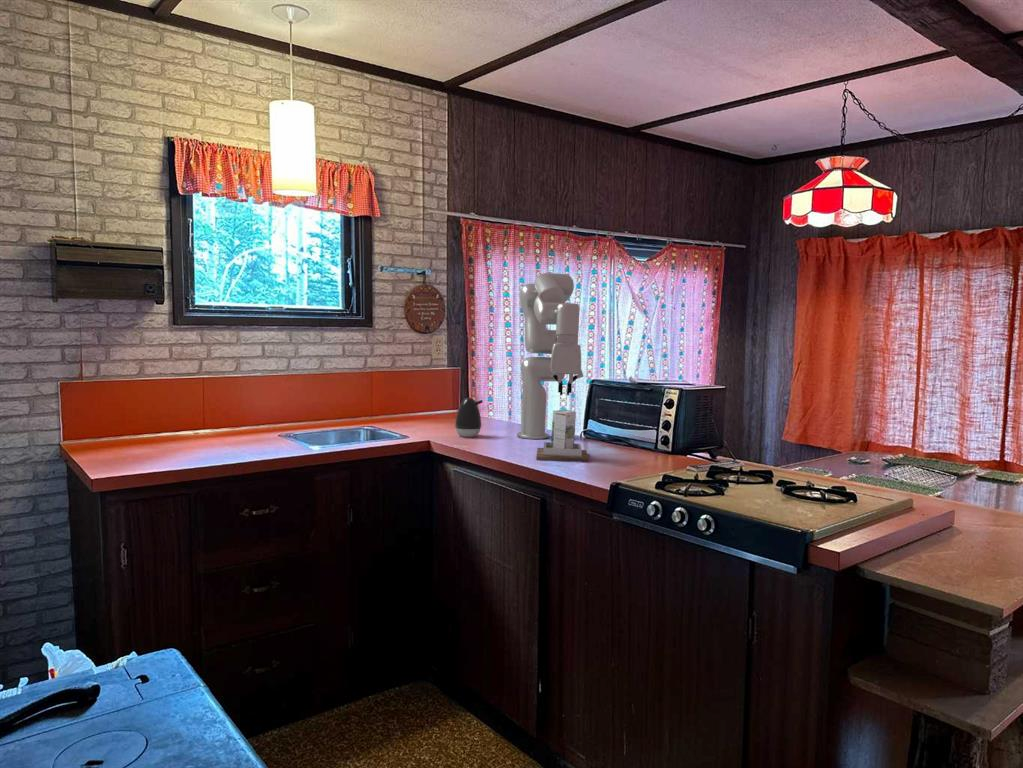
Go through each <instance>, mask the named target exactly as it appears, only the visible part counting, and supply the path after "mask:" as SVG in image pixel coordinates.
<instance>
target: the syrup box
mask: <svg viewBox="0 0 1023 768" xmlns="http://www.w3.org/2000/svg"><path fill="white" fill-rule="evenodd" d="M576 414H577V412H576V411H574V410H571V409H558V410H552V419H551V422H552V423H551V439H550V442H551V448H564V449H574V443H575V435H576V434H575V433H576V418H577V417H576V416H577V415H576Z"/></svg>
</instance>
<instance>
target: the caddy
mask: <svg viewBox="0 0 1023 768" xmlns="http://www.w3.org/2000/svg"><path fill="white" fill-rule="evenodd" d="M535 457H536V459H535V460H536V461H548V460H555V461H554V462H570V461H582V462H581V463H589V455H588V452H587V449H582V445H581V443H576V442H574V449H564V448H551V441H549V442H548V441H544V442H543V447H537V450H536V456H535Z"/></svg>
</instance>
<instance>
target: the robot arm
mask: <svg viewBox="0 0 1023 768" xmlns="http://www.w3.org/2000/svg"><path fill="white" fill-rule="evenodd" d="M574 286H575V284H574V280H573V278H572V277H571V275H570V274H567V273H555V272H545V273H540V274H538V276H537V277H536V278H535V279H534V283H526V284H524V285H523V286H521V288H520V291H519V303H520V306H521V307H520V308H521V309H522V313H523V317H524V347H525V351H527V352H528V353H530V354H540V355H541V354H542V355H551V357H548V356H529V357H526V358H524V359H523V360H522V361H521V364H520V370H521V381H522V382H521V383H522V384H521V385H522V389H521V390H522V393H521V397H522V399H521V400H522V401H521V422H520V423H521V424H520V425H521V426H520V432H519V431H518V432H517V433H516V436H517V437H518V438H522V439H529V440H545V439H548V438H549V437H550V435H549V434H548V433H546V422H547V421H546V420H547V418H546V417H547V416H546V415H547V390H546V389H545V387H544V386H543V384H542V382H557V384H558V387H557V388H558V389H557V393H559V394H560V396H563V389H564V387H563V385H564V383H563V380H564V379H565V376H566V375H568V381H567V383H566V395H567V396H570V394H572V384H573V383H574V382H575V381H576V380H577V379H581V378H584V373H583V370H582V348H581V347H582V346H581V344H579V325H580V305H579V304H577V303H574V302H573V303H571V302H570V303H569V302H567V301H568V300H569V299H570V297H571V296H572V295H573V292H574V289H575V287H574ZM547 325H556V327H555V329H548V327H547Z"/></svg>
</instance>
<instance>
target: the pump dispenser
mask: <svg viewBox="0 0 1023 768" xmlns="http://www.w3.org/2000/svg"><path fill="white" fill-rule="evenodd" d="M483 402H484V401H483V400H482V399H481V400H477V401H476V400H475V399H474V398H473V397H465V398H464V399H462V402H461V403H460V405H459V408H458V409H457V413H456V417H455V423H454V428H455V430H456V433H457V435H459V436H460V437H462V438H475V437H477V436H478V435H479V434H480V431H481V428H482V417H481V412H480V410H479V406H478V405H480V404H483Z"/></svg>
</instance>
